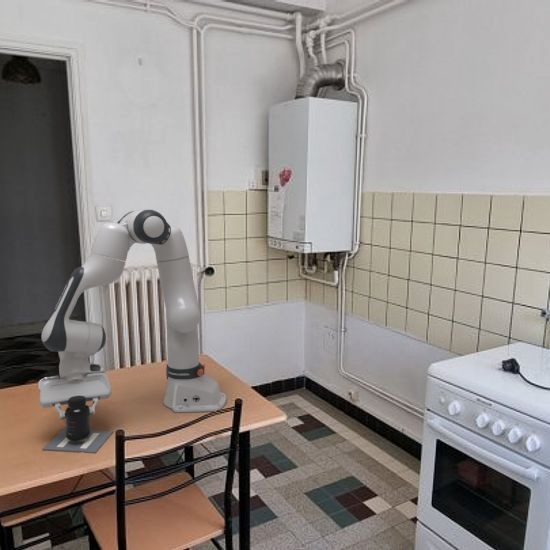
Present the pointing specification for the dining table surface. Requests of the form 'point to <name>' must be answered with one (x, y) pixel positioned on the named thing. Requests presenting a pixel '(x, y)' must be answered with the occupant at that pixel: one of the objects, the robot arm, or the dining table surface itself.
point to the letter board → (78, 442)
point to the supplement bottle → (77, 419)
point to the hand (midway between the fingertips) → (77, 416)
